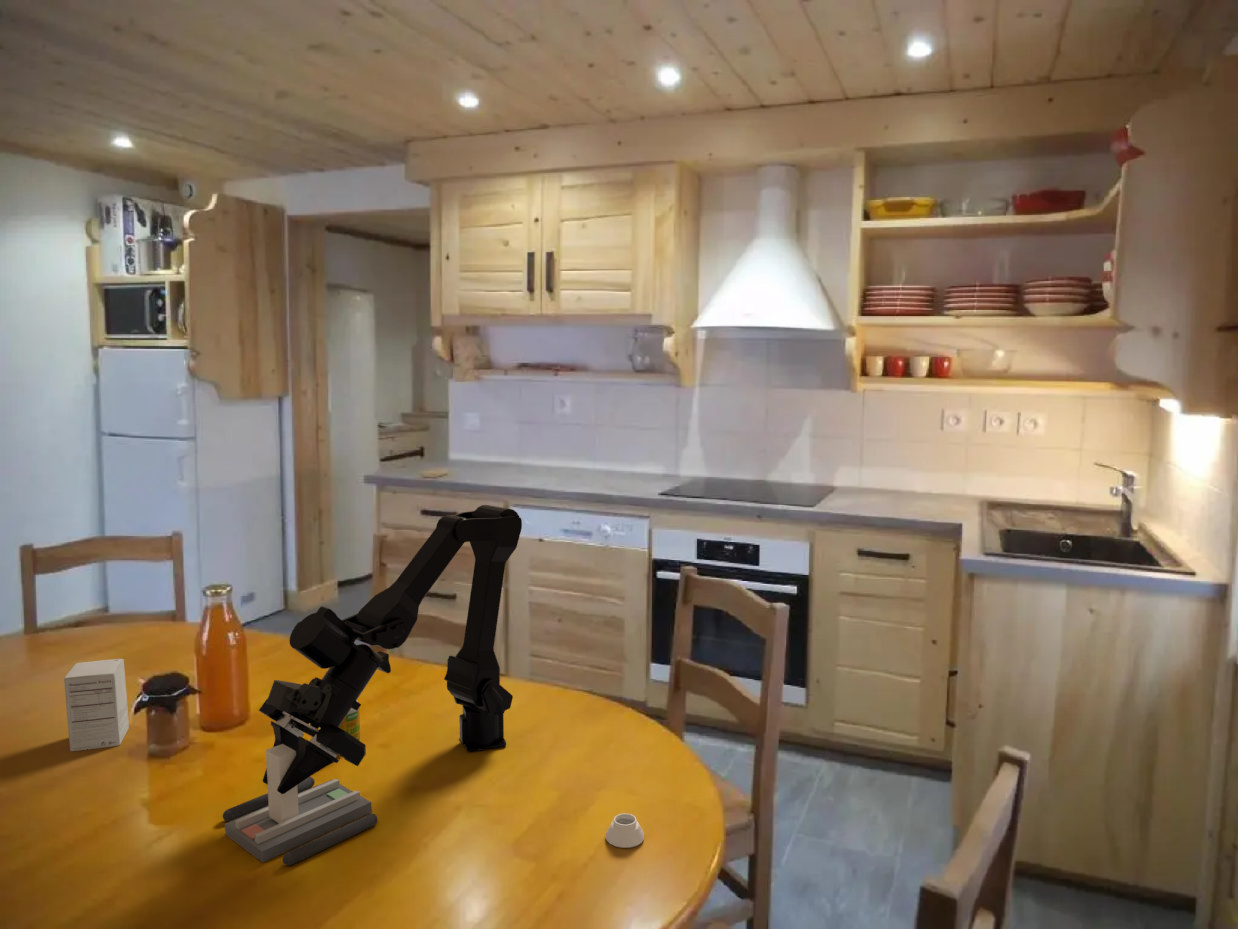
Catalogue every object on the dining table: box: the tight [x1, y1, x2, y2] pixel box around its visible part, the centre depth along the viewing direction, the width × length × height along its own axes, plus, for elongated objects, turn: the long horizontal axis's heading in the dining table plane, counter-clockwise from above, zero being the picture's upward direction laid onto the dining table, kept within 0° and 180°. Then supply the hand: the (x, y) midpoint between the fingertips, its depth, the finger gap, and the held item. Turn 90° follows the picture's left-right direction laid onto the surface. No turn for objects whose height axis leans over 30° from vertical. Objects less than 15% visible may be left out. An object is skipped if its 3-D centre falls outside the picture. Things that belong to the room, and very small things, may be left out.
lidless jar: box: [605, 812, 645, 849], centre depth 115 cm, size 5×3×5 cm
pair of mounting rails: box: [222, 776, 379, 867], centre depth 118 cm, size 14×18×2 cm
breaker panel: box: [224, 778, 373, 863], centre depth 118 cm, size 16×10×2 cm, turn 140°
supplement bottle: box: [339, 699, 361, 742], centre depth 141 cm, size 5×5×10 cm
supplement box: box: [63, 658, 130, 752], centre depth 143 cm, size 7×7×13 cm
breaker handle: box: [265, 744, 299, 824], centre depth 116 cm, size 2×3×10 cm
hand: (272, 788), depth 115 cm, fingers closed on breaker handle, 3 cm apart
